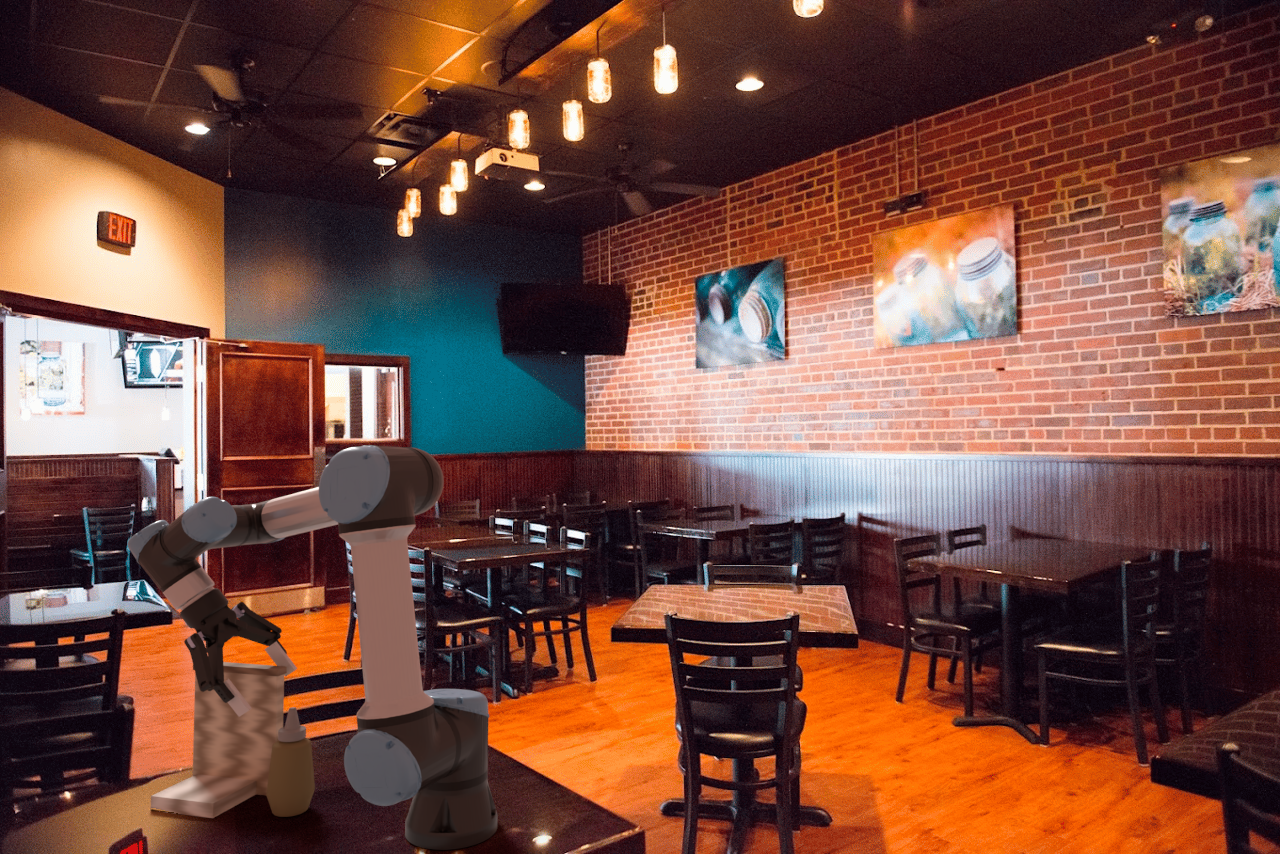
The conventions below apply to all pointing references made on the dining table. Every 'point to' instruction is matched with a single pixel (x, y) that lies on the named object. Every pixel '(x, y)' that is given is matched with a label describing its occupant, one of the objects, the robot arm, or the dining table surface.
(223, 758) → the wooden display stand
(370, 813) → the dining table surface
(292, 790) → the squeeze bottle
